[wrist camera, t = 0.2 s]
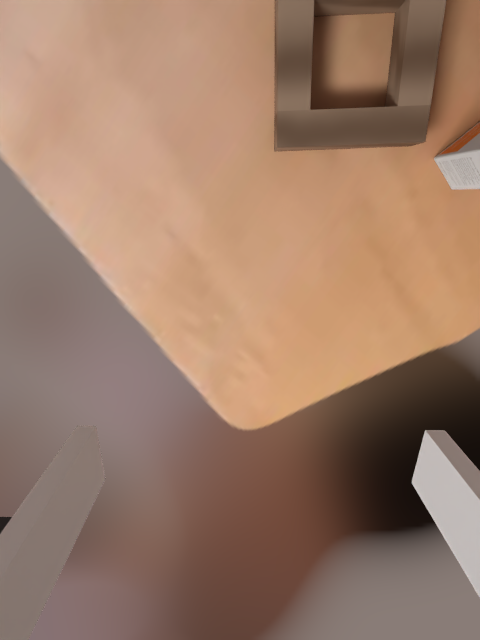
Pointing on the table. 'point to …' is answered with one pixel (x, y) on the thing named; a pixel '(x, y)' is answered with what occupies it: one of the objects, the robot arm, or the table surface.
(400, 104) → the serum stand
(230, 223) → the table surface
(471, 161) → the skincare box
